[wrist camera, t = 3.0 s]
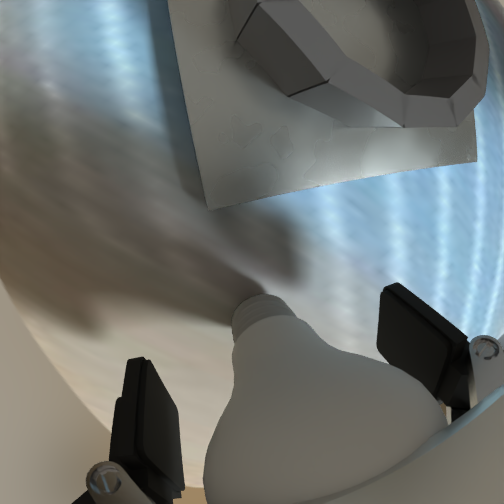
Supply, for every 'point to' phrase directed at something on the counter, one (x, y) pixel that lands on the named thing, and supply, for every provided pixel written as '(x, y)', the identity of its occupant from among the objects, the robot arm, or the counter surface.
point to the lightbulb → (308, 414)
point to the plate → (297, 114)
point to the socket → (360, 78)
